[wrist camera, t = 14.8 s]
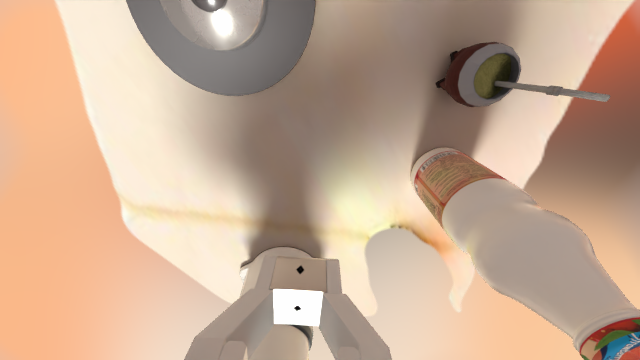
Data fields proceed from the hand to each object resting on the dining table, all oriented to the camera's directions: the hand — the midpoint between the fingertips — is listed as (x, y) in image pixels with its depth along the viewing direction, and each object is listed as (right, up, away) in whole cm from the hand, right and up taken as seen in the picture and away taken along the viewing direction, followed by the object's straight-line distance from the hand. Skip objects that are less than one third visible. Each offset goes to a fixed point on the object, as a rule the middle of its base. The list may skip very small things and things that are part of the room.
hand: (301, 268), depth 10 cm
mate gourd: (+21, +19, +24) cm, 36 cm away
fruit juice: (+20, +5, +30) cm, 37 cm away
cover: (-11, +25, +18) cm, 32 cm away
